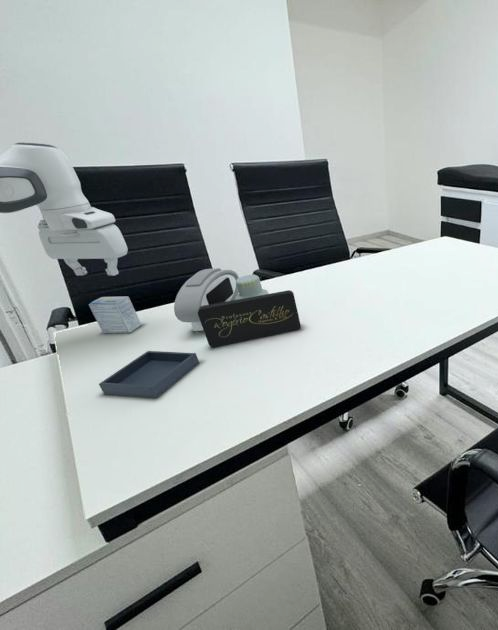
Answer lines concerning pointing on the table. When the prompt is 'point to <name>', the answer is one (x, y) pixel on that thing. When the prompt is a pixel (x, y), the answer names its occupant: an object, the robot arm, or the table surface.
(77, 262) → the robot arm
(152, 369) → the tray
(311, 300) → the table surface
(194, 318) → the alarm clock
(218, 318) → the nameplate
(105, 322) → the medicine box
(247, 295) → the air freshener
